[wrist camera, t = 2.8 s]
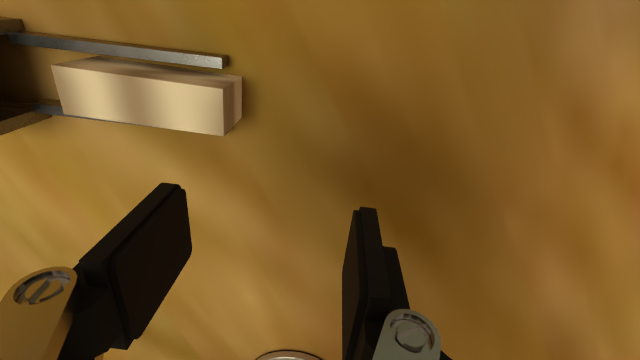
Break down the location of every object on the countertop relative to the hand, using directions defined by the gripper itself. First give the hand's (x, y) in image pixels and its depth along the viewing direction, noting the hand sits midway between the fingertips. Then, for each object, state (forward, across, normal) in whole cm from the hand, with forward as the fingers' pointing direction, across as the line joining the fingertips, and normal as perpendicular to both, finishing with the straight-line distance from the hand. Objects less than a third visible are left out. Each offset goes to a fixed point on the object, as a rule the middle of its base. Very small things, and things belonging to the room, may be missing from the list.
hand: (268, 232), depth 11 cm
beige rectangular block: (+18, +12, 0) cm, 21 cm away
